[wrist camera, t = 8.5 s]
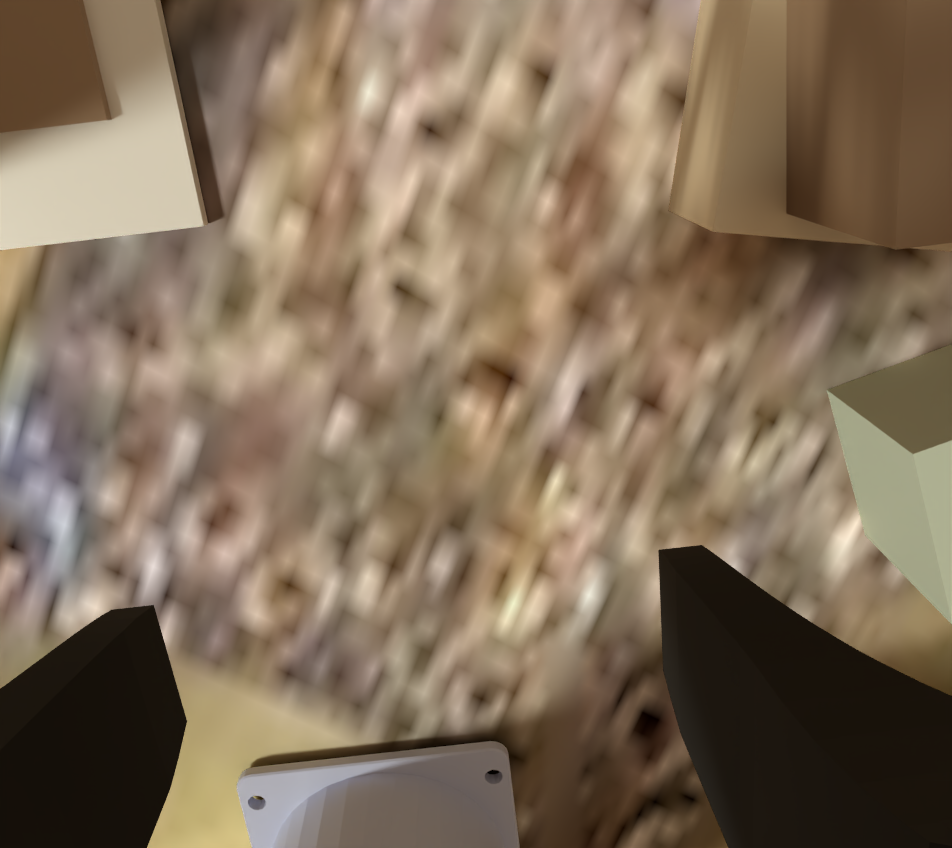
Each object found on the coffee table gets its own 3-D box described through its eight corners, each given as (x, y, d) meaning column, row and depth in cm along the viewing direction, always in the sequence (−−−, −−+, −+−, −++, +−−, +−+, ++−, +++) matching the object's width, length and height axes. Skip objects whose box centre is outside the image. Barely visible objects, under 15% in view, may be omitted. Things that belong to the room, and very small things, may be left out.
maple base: (908, 229, 21) (1006, 255, 17) (666, 209, 21) (713, 232, 17) (976, -46, 19) (1104, -84, 15) (709, -73, 19) (773, -118, 15)
